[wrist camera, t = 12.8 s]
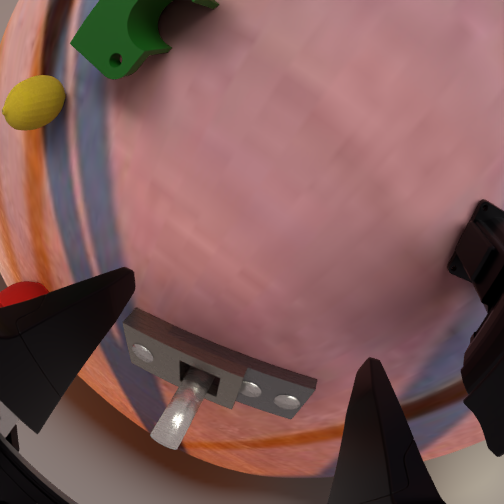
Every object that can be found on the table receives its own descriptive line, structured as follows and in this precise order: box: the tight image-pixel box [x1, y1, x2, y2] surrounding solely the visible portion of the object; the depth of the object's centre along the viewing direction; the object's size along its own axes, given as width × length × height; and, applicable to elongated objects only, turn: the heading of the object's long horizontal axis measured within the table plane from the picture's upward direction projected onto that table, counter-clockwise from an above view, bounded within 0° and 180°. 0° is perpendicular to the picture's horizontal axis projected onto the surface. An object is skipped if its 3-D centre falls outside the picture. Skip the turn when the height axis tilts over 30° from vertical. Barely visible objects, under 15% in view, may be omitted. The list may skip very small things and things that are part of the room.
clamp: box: [70, 0, 219, 79], centre depth 13 cm, size 12×6×9 cm, turn 123°
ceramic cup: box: [0, 281, 49, 308], centre depth 40 cm, size 13×17×10 cm
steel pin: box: [150, 366, 215, 450], centre depth 29 cm, size 3×3×12 cm
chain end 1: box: [123, 308, 248, 409], centre depth 33 cm, size 16×9×3 cm, turn 79°
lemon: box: [2, 75, 66, 130], centre depth 18 cm, size 6×6×8 cm
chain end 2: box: [167, 325, 317, 419], centre depth 33 cm, size 18×9×2 cm, turn 79°
